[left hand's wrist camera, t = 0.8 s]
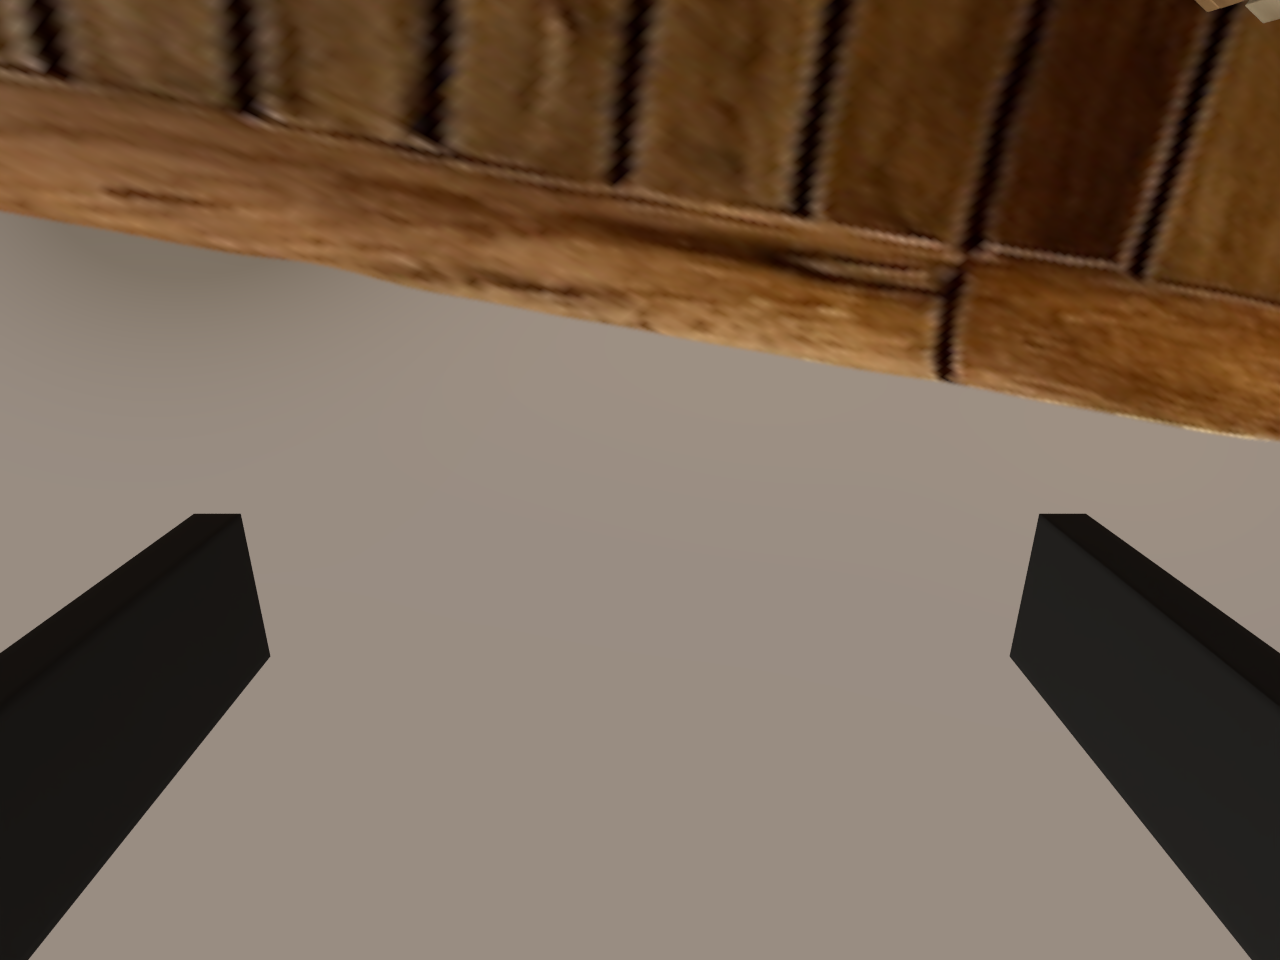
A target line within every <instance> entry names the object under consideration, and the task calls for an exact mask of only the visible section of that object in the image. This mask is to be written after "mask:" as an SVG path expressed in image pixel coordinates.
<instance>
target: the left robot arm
mask: <svg viewBox="0 0 1280 960" xmlns="http://www.w3.org/2000/svg"><path fill="white" fill-rule="evenodd" d="M269 657H270V653H269V648H268V643H267V638H266V633H265V628H264V624H263V619H262V614H261V609H260V604H259V600H258V595H257V590H256V585H255V580H254V576H253V571H252V566H251V561H250V556H249V551H248V547H247V542H246V537H245V532H244V527H243V523H242V518H241V514H193V515H192V516H190V517H189V518H188V519H186V520H185V521H183V522H182V523H181V524H179V525H178V526H177V527H175V528H174V529H172V530H171V531H170V532H168V533H167V534H165V535H164V536H163V537H161V538H160V539H158V540H157V541H156V542H154V543H153V544H151V545H150V546H149V547H147V548H146V549H144V550H143V551H142V552H140V553H139V554H138V555H136V556H135V557H133V558H132V559H131V560H129V561H128V562H126V563H125V564H124V565H122V566H121V567H119V568H118V569H117V570H115V571H114V572H113V573H111V574H110V575H108V576H107V577H106V578H104V579H103V580H101V581H100V582H99V583H97V584H96V585H94V586H93V587H92V588H90V589H89V590H87V591H86V592H85V593H83V594H82V595H81V596H79V597H78V598H76V599H75V600H74V601H72V602H71V603H69V604H68V605H67V606H65V607H64V608H62V609H61V610H60V611H58V612H57V613H56V614H54V615H53V616H51V617H50V618H49V619H47V620H46V621H44V622H43V623H42V624H40V625H39V626H37V627H36V628H35V629H33V630H32V631H30V632H29V633H28V634H26V635H25V636H24V637H22V638H21V639H19V640H18V641H17V642H15V643H14V644H12V645H11V646H10V647H8V648H7V649H5V650H4V651H3V652H1V653H0V960H28V959H29V958H30V957H31V956H32V954H33V953H34V952H35V951H36V949H37V948H38V947H39V946H40V944H41V943H42V942H43V941H44V939H45V938H46V937H47V935H48V934H49V933H50V932H51V930H52V929H53V928H54V927H55V925H56V924H57V923H58V922H59V920H60V919H61V918H62V917H63V915H64V914H65V913H66V912H67V910H68V909H69V908H70V907H71V905H72V904H73V903H74V902H75V900H76V899H77V898H78V897H79V895H80V894H81V893H82V892H83V890H84V889H85V888H86V887H87V885H88V884H89V883H90V882H91V880H92V879H93V878H94V877H95V875H96V874H97V873H98V872H99V870H100V869H101V868H102V867H103V865H104V864H105V863H106V862H107V860H108V859H109V858H110V857H111V855H112V854H113V853H114V852H115V850H116V849H117V848H118V847H119V845H120V844H121V843H122V842H123V840H124V839H125V838H126V836H127V835H128V834H129V833H130V832H131V830H132V829H133V828H134V826H135V825H136V824H137V823H138V821H139V820H140V819H141V818H142V816H143V815H144V814H145V813H146V811H147V810H148V809H149V808H150V806H151V805H152V804H153V803H154V801H155V800H156V799H157V798H158V796H159V795H160V794H161V793H162V791H163V790H164V789H165V788H166V786H167V785H168V784H169V783H170V781H171V780H172V779H173V778H174V776H175V775H176V774H177V773H178V771H179V770H180V769H181V768H182V766H183V765H184V764H185V763H186V761H187V760H188V759H189V758H190V756H191V755H192V754H193V753H194V751H195V750H196V749H197V747H198V746H199V745H200V744H201V743H202V741H203V740H204V739H205V738H206V736H207V735H208V734H209V733H210V731H211V730H212V729H213V727H214V726H215V725H216V724H217V722H218V721H219V720H220V719H221V718H222V716H223V715H224V714H225V712H226V711H227V710H228V709H229V707H230V706H231V705H232V704H233V702H234V701H235V700H236V699H237V697H238V696H239V695H240V694H241V692H242V691H243V690H244V689H245V687H246V686H247V685H248V684H249V682H250V681H251V680H252V679H253V677H254V676H255V675H256V674H257V672H258V671H259V670H260V669H261V667H262V666H263V665H264V664H265V662H266V661H267V660H268V658H269ZM1010 657H1011V659H1012V660H1013V661H1014V662H1015V664H1016V665H1017V666H1018V667H1019V669H1020V670H1021V671H1022V672H1023V674H1024V675H1025V676H1026V677H1027V679H1028V680H1029V681H1030V682H1031V684H1032V685H1033V686H1034V687H1035V689H1036V690H1037V691H1038V692H1039V694H1040V695H1041V696H1042V697H1043V699H1044V700H1045V701H1046V702H1047V704H1048V705H1049V706H1050V707H1051V709H1052V710H1053V711H1054V712H1055V714H1056V715H1057V716H1058V718H1059V719H1060V720H1061V721H1062V722H1063V724H1064V725H1065V726H1066V728H1067V729H1068V730H1069V731H1070V733H1071V734H1072V735H1073V736H1074V738H1075V739H1076V740H1077V741H1078V743H1079V744H1080V745H1081V746H1082V748H1083V749H1084V750H1085V751H1086V753H1087V754H1088V755H1089V756H1090V758H1091V759H1092V760H1093V761H1094V763H1095V764H1096V765H1097V766H1098V768H1099V769H1100V770H1101V771H1102V773H1103V774H1104V775H1105V776H1106V778H1107V779H1108V780H1109V781H1110V783H1111V784H1112V785H1113V786H1114V788H1115V789H1116V790H1117V791H1118V793H1119V794H1120V795H1121V796H1122V798H1123V799H1124V800H1125V801H1126V803H1127V804H1128V805H1129V806H1130V808H1131V809H1132V810H1133V811H1134V813H1135V814H1136V815H1137V816H1138V818H1139V819H1140V820H1141V822H1142V823H1143V824H1144V825H1145V827H1146V828H1147V829H1148V830H1149V832H1150V833H1151V834H1152V835H1153V837H1154V838H1155V839H1156V840H1157V842H1158V843H1159V844H1160V845H1161V846H1162V848H1163V849H1164V850H1165V852H1166V853H1167V854H1168V855H1169V857H1170V858H1171V859H1172V860H1173V862H1174V863H1175V864H1176V865H1177V867H1178V868H1179V869H1180V870H1181V872H1182V873H1183V874H1184V875H1185V877H1186V878H1187V879H1188V880H1189V882H1190V883H1191V884H1192V885H1193V887H1194V888H1195V889H1196V890H1197V892H1198V893H1199V894H1200V895H1201V897H1202V898H1203V899H1204V900H1205V902H1206V903H1207V904H1208V905H1209V907H1210V908H1211V909H1212V910H1213V912H1214V913H1215V914H1216V915H1217V917H1218V918H1219V919H1220V921H1221V922H1222V923H1223V924H1224V925H1225V927H1226V928H1227V929H1228V930H1229V932H1230V933H1231V934H1232V936H1233V937H1234V938H1235V939H1236V941H1237V942H1238V943H1239V944H1240V946H1241V947H1242V948H1243V949H1244V951H1245V952H1246V953H1247V954H1248V956H1249V957H1250V958H1251V959H1252V960H1280V653H1279V652H1277V651H1276V650H1275V649H1273V648H1272V647H1270V646H1269V645H1268V644H1266V643H1265V642H1263V641H1262V640H1261V639H1259V638H1258V637H1256V636H1255V635H1254V634H1252V633H1251V632H1250V631H1248V630H1247V629H1245V628H1244V627H1243V626H1241V625H1240V624H1238V623H1237V622H1236V621H1234V620H1233V619H1231V618H1230V617H1229V616H1227V615H1226V614H1225V613H1223V612H1222V611H1220V610H1219V609H1218V608H1216V607H1215V606H1213V605H1212V604H1211V603H1209V602H1208V601H1206V600H1205V599H1204V598H1202V597H1201V596H1199V595H1198V594H1197V593H1195V592H1194V591H1193V590H1191V589H1190V588H1188V587H1187V586H1185V585H1184V584H1183V583H1181V582H1180V581H1179V580H1177V579H1176V578H1174V577H1173V576H1172V575H1170V574H1169V573H1167V572H1166V571H1165V570H1163V569H1162V568H1161V567H1159V566H1158V565H1156V564H1155V563H1154V562H1152V561H1151V560H1149V559H1148V558H1147V557H1145V556H1144V555H1142V554H1141V553H1140V552H1138V551H1137V550H1135V549H1134V548H1133V547H1131V546H1130V545H1129V544H1127V543H1126V542H1124V541H1123V540H1121V539H1120V538H1119V537H1117V536H1116V535H1115V534H1113V533H1112V532H1110V531H1109V530H1108V529H1106V528H1105V527H1104V526H1102V525H1101V524H1099V523H1098V522H1097V521H1095V520H1094V519H1092V518H1091V517H1090V516H1088V515H1087V514H1039V518H1038V523H1037V528H1036V532H1035V537H1034V542H1033V547H1032V551H1031V557H1030V561H1029V566H1028V571H1027V576H1026V580H1025V585H1024V590H1023V595H1022V600H1021V604H1020V609H1019V614H1018V619H1017V624H1016V628H1015V633H1014V638H1013V643H1012V648H1011V652H1010Z"/></svg>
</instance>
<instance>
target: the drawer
mask: <svg viewBox="0 0 1280 960" xmlns="http://www.w3.org/2000/svg"><path fill="white" fill-rule="evenodd" d="M1245 6H1246V7H1247V8H1248V9H1249V10H1250V11H1251V12H1252V13H1253V14H1254V15H1255V16H1256V17H1257V18H1258V19H1259V20H1260V21H1261V22H1262V23H1266V22H1270V21H1273V20H1277V19H1280V0H1249V1H1248V2H1247V4H1246V5H1245Z"/></svg>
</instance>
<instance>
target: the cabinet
mask: <svg viewBox="0 0 1280 960" xmlns="http://www.w3.org/2000/svg"><path fill="white" fill-rule="evenodd" d="M1195 1H1196V2H1197V3H1198V4H1199V5H1200V6H1201V7H1202V8H1203V9H1204V10H1205V11H1207V12H1210V11H1213V10H1216V9H1219V8H1223V7H1226V6H1230V5H1233V4H1236V3H1239V2H1242V1H1245V0H1195Z"/></svg>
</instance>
